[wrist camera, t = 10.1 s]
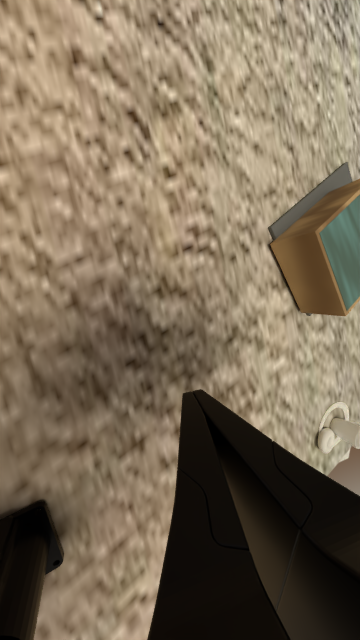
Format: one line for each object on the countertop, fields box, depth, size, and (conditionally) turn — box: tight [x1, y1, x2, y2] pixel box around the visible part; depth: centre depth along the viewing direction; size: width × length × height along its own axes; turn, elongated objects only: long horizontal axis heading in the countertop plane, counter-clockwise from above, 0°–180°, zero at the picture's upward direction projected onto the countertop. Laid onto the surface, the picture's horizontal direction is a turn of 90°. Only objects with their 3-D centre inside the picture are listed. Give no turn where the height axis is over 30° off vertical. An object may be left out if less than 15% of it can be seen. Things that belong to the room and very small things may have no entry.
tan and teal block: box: [270, 179, 360, 316], centre depth 23 cm, size 5×10×12 cm
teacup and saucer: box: [318, 402, 360, 462], centre depth 31 cm, size 9×8×4 cm
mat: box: [268, 162, 352, 316], centre depth 26 cm, size 16×13×1 cm
